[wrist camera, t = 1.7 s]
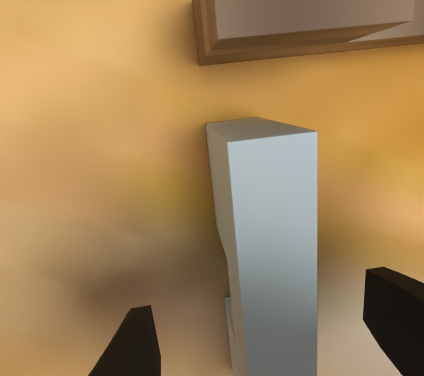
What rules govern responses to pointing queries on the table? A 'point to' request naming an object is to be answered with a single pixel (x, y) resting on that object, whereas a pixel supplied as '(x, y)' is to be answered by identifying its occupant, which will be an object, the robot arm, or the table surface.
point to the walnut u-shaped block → (301, 27)
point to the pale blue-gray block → (268, 242)
